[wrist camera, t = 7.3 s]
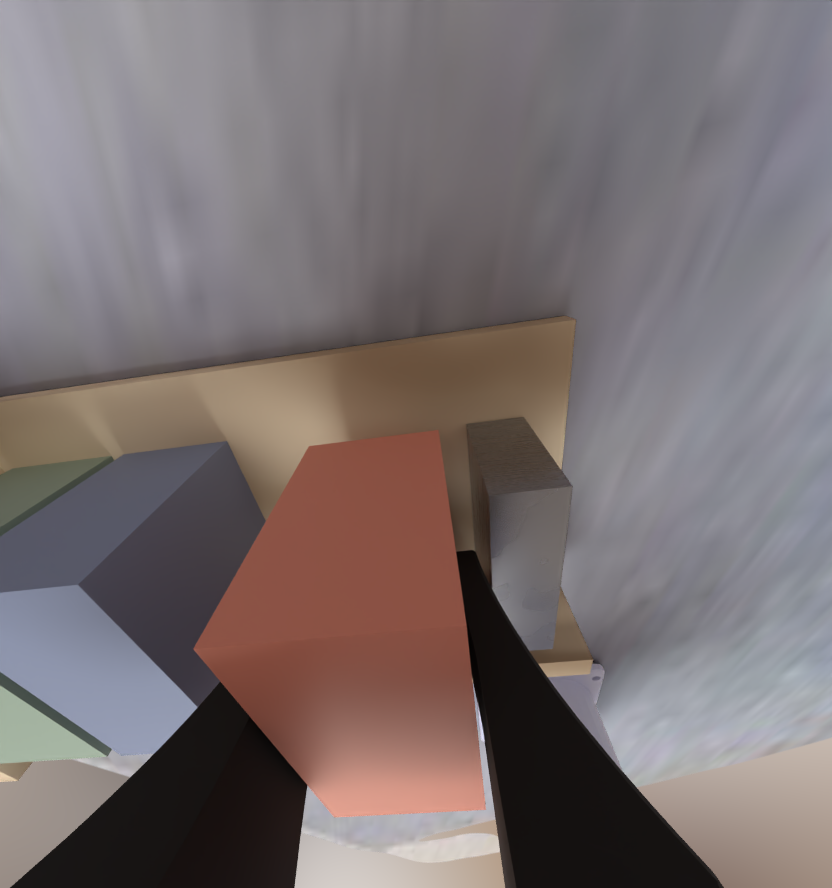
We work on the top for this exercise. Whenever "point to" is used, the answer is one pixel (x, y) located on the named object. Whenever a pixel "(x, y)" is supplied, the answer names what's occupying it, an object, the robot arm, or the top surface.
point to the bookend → (519, 523)
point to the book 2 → (126, 591)
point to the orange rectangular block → (358, 632)
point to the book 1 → (4, 701)
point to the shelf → (322, 419)
